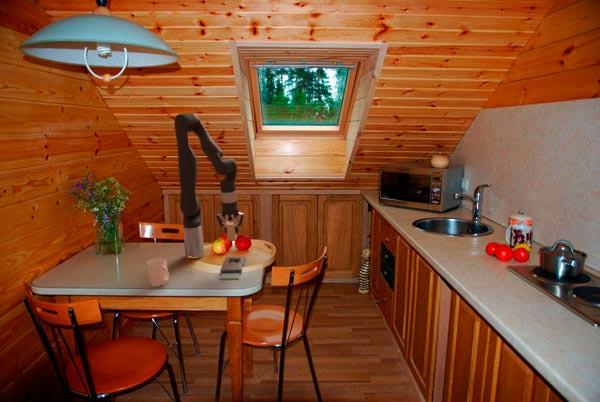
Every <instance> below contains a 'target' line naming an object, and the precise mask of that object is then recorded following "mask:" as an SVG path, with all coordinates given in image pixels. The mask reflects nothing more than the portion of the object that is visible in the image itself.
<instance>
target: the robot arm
mask: <svg viewBox="0 0 600 402" xmlns="http://www.w3.org/2000/svg"><path fill="white" fill-rule="evenodd" d="M173 121H174V122H173V123H174V124H173V125H174V131H175V140H176V144H177V163H178V164H177V166H178V176H179V179H178V180H179V184H180V185H179V186H180V200H179V201H180V202H179V210H180V211H181V214H183V215H182V217H183V219H182V226H183V228H182V229H183V235H184V240H183V246H184V256H185V259H188V256H192V257H201V256H203V257H204V256H205V249H204V239H203V229H202V212H201V211H202V209H201V202H200V199H199V198H198V197H197V194H196V187H197V185H196V184H197V178H198V159H197V156H196V154H195V153H194V151H193V149H192V147H191V146H190V143H189V137H188V135H189V134H190V133H193V134H195V135H196V136H197V137H198V139H199V143H200V144H199V145H200V148H201V150H202V151H203V153H204V155H205V156H206V157H207V158H208V159H209V160H210V162H211V164H212V167H213V169H214V170H215V173H217V174H218V175H219V176H224V177H223V178H222V179H221V180H220V182H219V187H220V201H221V203H220V204H221V213H217V215H215V217H216V219H217V222H218V224H219V226H220V227H223V228H224V233H225V234H226V235H227V227H226V225H227V223H228V222H234V224H235V232H236V234H238V233H239V230H240V229H239V227H240V226H242V225H243V221H244V216H245V213H244V212H240V211H239V209H238V208H239V207H238V197H237V192H236V178H237V173H238V164H237V162H236V160H235V159H233V158H225V159H222V158H223V157H224V152H223V151H222V149H221V148H220V147H219V146H218V145H217V143H215V141H214V140H213V139H212V138H211V136H210V134H209V132H208V131H207V130H206V128H205V126H204V124H203V123H202V122H201V120H200V119H199V117H198V116H197V115H196V114H195V113H179V114H177V115H175V117H174V120H173ZM238 216H239V222H238V218H237V217H238ZM222 217H223V218H224V222H223V219H222ZM201 258H202V257H201Z"/></svg>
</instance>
